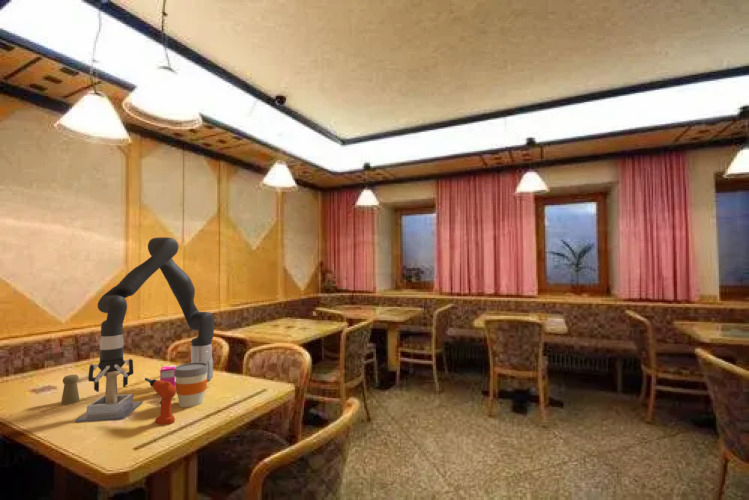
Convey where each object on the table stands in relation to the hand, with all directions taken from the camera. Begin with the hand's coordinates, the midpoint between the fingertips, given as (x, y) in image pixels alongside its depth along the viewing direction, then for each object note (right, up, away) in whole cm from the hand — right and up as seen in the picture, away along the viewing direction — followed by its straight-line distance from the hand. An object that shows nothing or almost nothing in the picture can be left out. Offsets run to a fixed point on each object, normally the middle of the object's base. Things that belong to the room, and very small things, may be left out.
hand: (111, 388), depth 146 cm
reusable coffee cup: (+27, -9, +8) cm, 30 cm away
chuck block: (0, -9, 0) cm, 9 cm away
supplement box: (+11, -10, +21) cm, 25 cm away
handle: (0, -8, 0) cm, 8 cm away
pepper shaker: (-25, -10, +12) cm, 29 cm away
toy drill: (+23, -9, -8) cm, 25 cm away
